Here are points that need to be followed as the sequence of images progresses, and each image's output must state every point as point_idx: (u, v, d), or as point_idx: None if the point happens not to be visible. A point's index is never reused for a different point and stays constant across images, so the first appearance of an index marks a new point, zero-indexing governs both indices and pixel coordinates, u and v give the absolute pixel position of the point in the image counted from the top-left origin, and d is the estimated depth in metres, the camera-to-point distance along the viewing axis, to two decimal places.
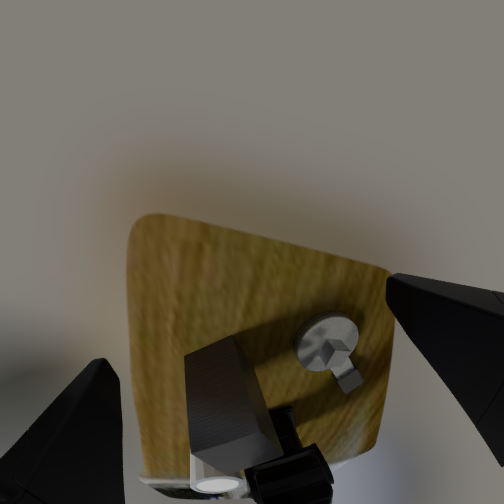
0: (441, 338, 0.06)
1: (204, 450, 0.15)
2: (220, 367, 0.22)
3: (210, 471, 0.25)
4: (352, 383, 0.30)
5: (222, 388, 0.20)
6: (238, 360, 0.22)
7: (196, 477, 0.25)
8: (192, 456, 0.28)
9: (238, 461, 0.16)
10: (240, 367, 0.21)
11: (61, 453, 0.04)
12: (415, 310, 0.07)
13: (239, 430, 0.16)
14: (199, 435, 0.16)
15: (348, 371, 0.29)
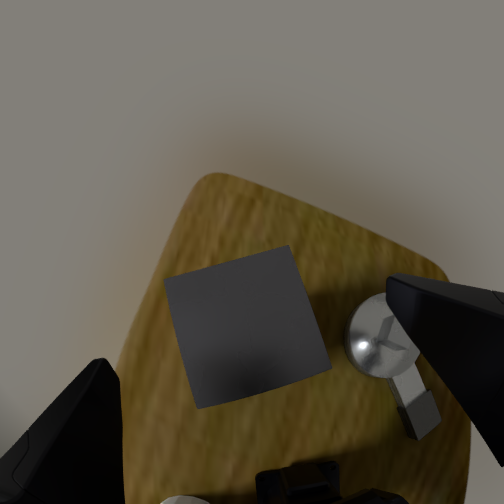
0: (441, 338, 0.06)
1: (188, 275, 0.11)
2: None
3: None
4: (426, 418, 0.16)
5: None
6: None
7: None
8: None
9: (237, 349, 0.10)
10: None
11: (61, 453, 0.04)
12: (415, 310, 0.07)
13: None
14: None
15: (419, 396, 0.17)
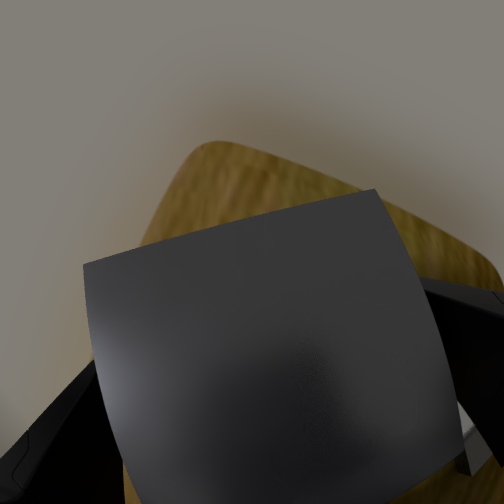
0: (441, 338, 0.06)
1: (138, 254, 0.04)
2: None
3: None
4: (482, 449, 0.09)
5: None
6: None
7: None
8: None
9: (265, 453, 0.03)
10: None
11: (61, 453, 0.04)
12: None
13: None
14: None
15: None
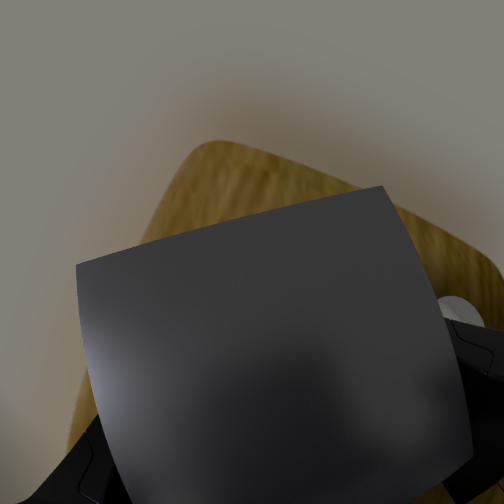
0: None
1: (133, 254, 0.04)
2: None
3: None
4: None
5: None
6: None
7: None
8: None
9: (268, 465, 0.03)
10: None
11: None
12: None
13: None
14: None
15: None
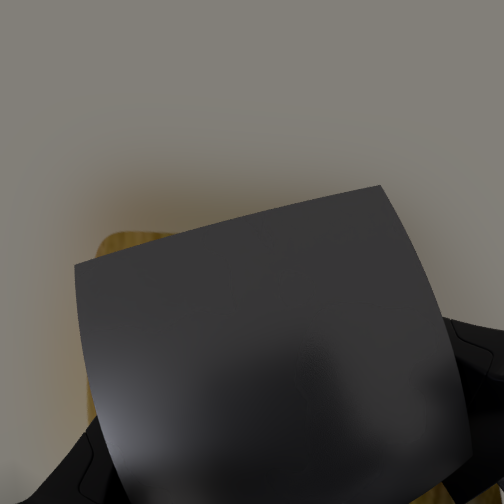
0: None
1: (131, 254, 0.04)
2: None
3: None
4: None
5: None
6: None
7: None
8: None
9: (266, 465, 0.03)
10: None
11: None
12: None
13: None
14: None
15: None
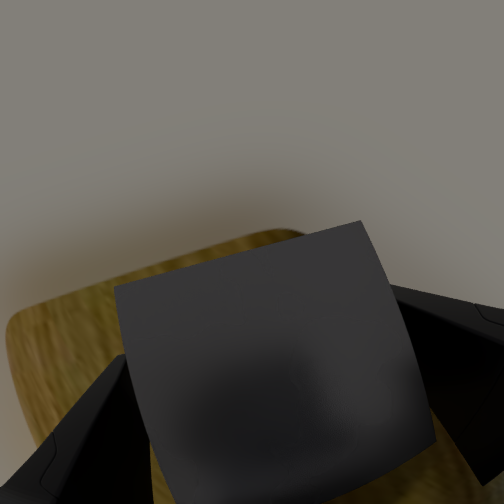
0: (418, 352, 0.06)
1: (162, 279, 0.05)
2: None
3: None
4: None
5: None
6: None
7: None
8: None
9: (269, 437, 0.04)
10: None
11: (92, 455, 0.04)
12: None
13: None
14: None
15: None
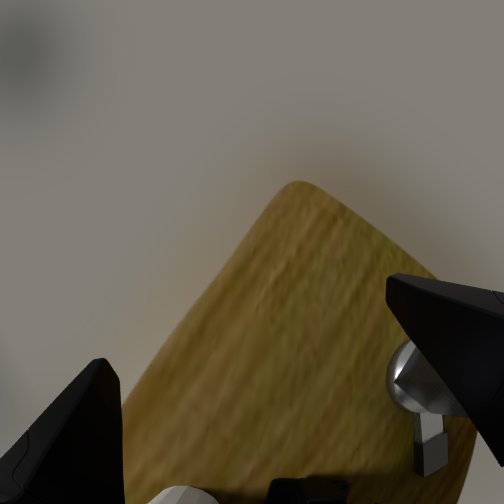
0: (441, 338, 0.06)
1: None
2: None
3: None
4: (436, 457, 0.14)
5: None
6: None
7: None
8: (158, 497, 0.13)
9: None
10: None
11: (61, 453, 0.04)
12: (415, 310, 0.07)
13: None
14: None
15: (436, 436, 0.16)
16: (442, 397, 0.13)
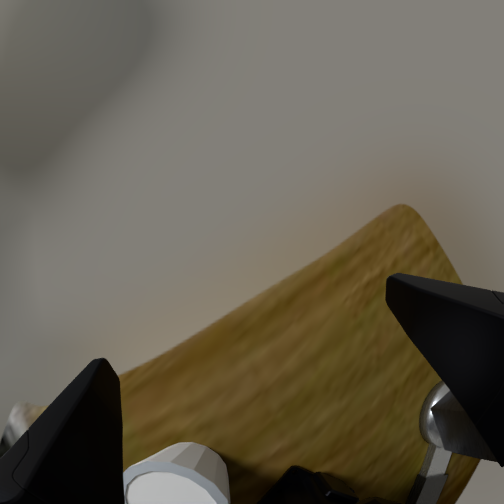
0: (441, 338, 0.06)
1: None
2: None
3: (207, 474, 0.12)
4: (430, 495, 0.13)
5: None
6: None
7: (173, 461, 0.12)
8: (176, 448, 0.15)
9: None
10: None
11: (61, 453, 0.04)
12: (415, 310, 0.07)
13: None
14: None
15: (438, 475, 0.14)
16: (469, 430, 0.12)
